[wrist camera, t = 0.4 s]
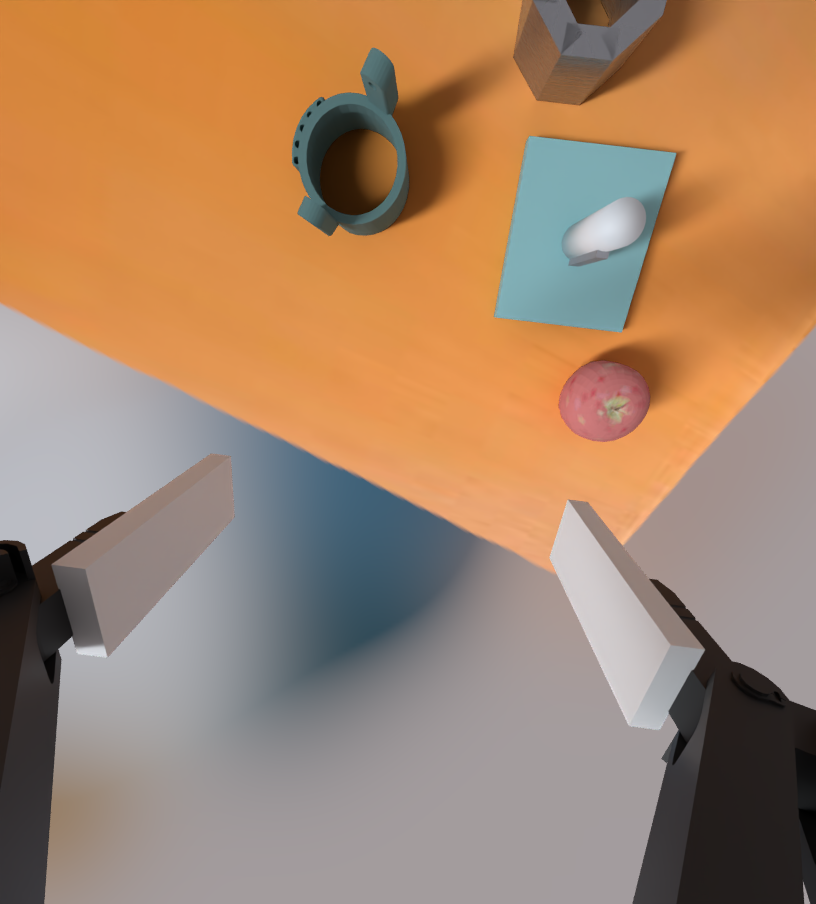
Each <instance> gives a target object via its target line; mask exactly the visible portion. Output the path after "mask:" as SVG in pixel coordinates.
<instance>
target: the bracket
mask: <svg viewBox="0 0 816 904" xmlns="http://www.w3.org/2000/svg"><path fill="white" fill-rule="evenodd" d="M360 74H361V77H362V81H363V84H364V87H365V91H366V94H367V96H366V95H362V94H359V93H342V94H338V95H335V96H332V97H330V98H328V99H327V100H325V99H324V98H323V97H320V98H319V99H317V100H316V101H315V102H314V103H313V104H312V105H311V106H310V107H309V108H308V109H307V110H306V112H305V113H304V115H303V116H302V118H301V120H300V122H299V124H298V126H297V129H296V132H295V136H294V140H293V148H292V163H293V165H294V166H295V167H296V169H297V170H298V171H299V172H300V175H301V179H302V182H303V185H304V187H305V189H306V192H307V193H308V195H309V197H310V198H311V199H310V198H308V197H307V196H305V197H304V199H303V202H302V204H301V206H300V208H299V210H298V215H300V216H301V217H303V218H304V219H305V220H307V221H308V222H310V223H311V224H313V225H314V226H315V227H317V228H318V229H320V230H321V231H323V232H324V233H325V234H327V235H328V236H331V235H332V234H333V232H334V231H335V229H336V228H337V226H338V225H339V226H341V227H342V228H344V229H345V230H347V231H348V232H349V233H352V234H356V235H365V236H366V235H373V234H376V233H379V232H381V231H383V230H385V229H387V228H388V227H389V226H390V225H391V224H393V223H394V222H395V220H396V219H397V218H398V217H399V215H400V214H401V212H402V210H403V208H404V206H405V203H406V200H407V196H408V191H409V173H408V165H407V159H406V152H405V146H404V141H403V138H402V135H401V132H400V130H399V127H398V125H397V123H396V122H395V120H394V119H393V117H392V114H393V112H394V109H395V106H396V104H397V101H398V91H397V84H396V77H395V70H394V66H393V64H392V62H391V61H390V60H389V58H388V57H387V56H386V55H385V54H384V53H382V52H381V51H380V50H378V49H376V48H372V49H371V50H370V52H369V54H368V57H367V59H366V61H365V63H364V66H363V68H362V70H361V72H360ZM356 129H367V130H372V131H375V132H377V133H379V134H381V135H382V136H384V137H385V138H386V139H388V140H389V141H390V142H391V143H392V144H393V146H394V147H395V149H396V150H397V159H398V167H397V174H396V178H395V182H394V185H393V187H392V189H391V191H390V193H389V195H388V196H387V197H386V199H385V200H384V201H383V203H381V204H380V205H379V206H378V207H377V208H375V209H374V210H372V211H370V212H368V213H365V214H361V215H347V214H343V213H340V212H337V211H335V210H334V209H332V208H331V207H329V206H328V205H327V204H326V203H325V201H324V199H323V196H322V191H321V186H320V172H321V166H322V162H323V159H324V156H325V154H326V152H327V150H328V149H329V147H330V146H331V144H332V143H333V142H334V141H335V140H336V139H337V138H338V137H339V136H341V135H343V134H344V133H346V132H349V131H351V130H356Z"/></svg>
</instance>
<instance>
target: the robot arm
mask: <svg viewBox="0 0 816 904" xmlns="http://www.w3.org/2000/svg"><path fill="white" fill-rule="evenodd" d="M234 517H235V516H234V500H233V485H232V469H231V456H225V455H218V454H210V455H208V456H207V457H206V458H204V459H203V460H201V461H200V462H198V463H197V464H196V465H194V466H193V467H191V468H190V469H188V470H187V471H185V472H184V473H182V474H181V475H180V476H178V477H177V478H175V479H174V480H172V481H171V482H169V483H168V484H167V485H165V486H164V487H162V488H161V489H159V490H158V491H157V492H155V493H154V494H153V495H151V496H149V497H148V498H146V499H145V500H144V501H142V502H141V503H139V504H138V505H136V506H135V507H134V508H132V509H131V510H129V511H128V512H119V513H117V514H114V515H112V516H109V517H107V518H104V519H102V520H100V521H99V522H97V523H96V524H94V525H93V526H91V527H90V528H88V529H87V530H86V532H82V533H81V534H79V535H78V536H76V537H75V538H73V541H69V542H67V543H66V544H64V545H63V546H61V547H60V548H58V549H57V550H55V551H54V552H52V553H51V554H49V555H48V556H46V557H45V558H43V559H42V560H40V561H38V562H37V563H35V564H34V565H31V562H30V559H29V555H28V552H27V549H26V546H25V544H23V543H21V542H19V541H8V540H3V541H0V904H44V899H45V898H44V897H45V885H46V870H47V856H48V842H49V828H50V814H51V799H52V785H53V771H54V770H53V769H54V756H55V742H56V727H57V714H58V700H59V686H60V671H61V657H60V654H59V650H58V649H59V648H60V647H61V646H62V645H63V644H64V643H65V642H66V641H67V640H69V639H70V638H71V637H73V641H74V644H75V647H76V651H77V654H83V655H92V656H99V657H106V658H107V657H109V656H110V654H111V653H112V652H113V651H114V650H115V649H116V648H117V647H118V646H119V644H120V643H121V642H122V641H123V640H124V639H125V638H126V637H127V636H128V634H129V633H130V632H131V631H132V630H133V629H134V628H135V627H136V625H138V623H139V622H140V621H141V620H142V619H143V618H144V617H145V615H146V614H147V613H148V612H149V611H150V610H151V609H152V608H153V607H154V606H155V605H156V603H157V602H158V601H159V600H160V599H161V598H162V597H163V596H164V595H165V593H166V592H167V591H168V590H169V589H170V588H171V587H172V585H174V584H175V583H176V581H177V580H178V579H179V578H180V577H181V576H182V575H183V574H184V573H185V571H186V570H187V569H188V568H189V567H190V566H191V565H192V564H193V563H194V562H195V560H196V559H197V558H198V557H199V556H200V555H201V554H202V553H203V552H204V550H205V549H206V548H207V547H208V546H209V545H210V544H211V543H212V542H213V541H214V539H215V538H216V537H217V536H218V535H219V534H220V533H221V532H222V530H223V529H224V528H225V527H226V526H227V525H228V524H229V523H230V522H231V521H232V519H233V518H234ZM550 560H551V562H552V564H553V566H554V569H555V571H556V573H557V575H558V577H559V579H560V581H561V583H562V585H563V587H564V590H565V591H566V594H567V596H568V598H569V600H570V602H571V604H572V606H573V609H574V611H575V613H576V615H577V617H578V619H579V621H580V624H581V625H582V628H583V630H584V632H585V634H586V636H587V638H588V640H589V643H590V645H591V646H592V649H593V651H594V653H595V655H596V657H597V659H598V662H599V664H600V666H601V667H602V670H603V672H604V674H605V676H606V678H607V680H608V683H609V685H610V687H611V689H612V691H613V693H614V695H615V697H616V700H617V702H618V704H619V706H620V708H621V710H622V712H623V714H624V716H625V719H626V721H627V723H628V725H629V726H633V727H640V728H648V729H656V730H660V728H661V727H662V725H663V723H664V721H665V720H666V718H667V716H668V714H670V715H671V717H672V719H673V721H674V722H675V724H676V726H677V728H678V729H679V730H678V732H677V734H676V735H675V737H674V739H673V740H672V742H671V744H670V745H669V747H668V749H667V750H666V752H665V754H664V755H663V757H662V760H664V761H665V762H666V763H667V766H666V770H665V774H664V778H663V783H662V787H661V790H660V794H659V799H658V803H657V807H656V811H655V815H654V819H653V823H652V827H651V831H650V835H649V839H648V843H647V847H646V851H645V855H644V859H643V863H642V867H641V871H640V876H639V880H638V884H637V888H636V892H635V896H634V900H633V904H804V893H803V882H804V885H805V888H806V891H807V894H808V898H809V901H810V904H816V710H813V709H810V708H808V707H805V706H803V705H800V704H797V703H794V702H792V701H789V699H788V698H787V697H786V696H785V694H784V693H783V692H782V691H781V689H780V688H779V687H777V686H776V685H775V684H774V683H773V682H772V681H770V680H769V679H768V678H767V677H765V676H764V675H762V674H760V673H759V672H757V671H756V670H754V669H752V668H750V667H747V666H745V665H743V664H741V663H737V662H732V661H731V660H730V659H729V657H728V656H727V655H726V654H725V653H724V651H723V650H722V649H721V648H720V647H719V645H718V644H717V643H716V642H715V641H714V639H713V638H712V637H711V636H710V635H709V634H708V632H707V631H706V630H705V629H704V628H703V627H702V625H701V624H700V623H699V622H698V621H696V620H695V617H694V616H693V615H692V613H691V612H690V611H689V610H688V609H686V608H685V605H684V604H683V603H682V602H681V601H680V599H679V598H678V597H677V596H676V594H675V593H674V592H672V591H671V590H670V589H669V588H667V587H666V586H665V585H663V584H662V583H660V582H659V581H658V580H654V579H648V577H647V576H646V575H645V574H644V572H643V571H642V570H641V569H640V567H639V566H638V565H637V564H636V562H635V561H634V560H633V558H632V557H631V556H630V555H629V553H628V552H627V551H626V550H625V548H624V547H623V546H622V545H621V543H620V542H619V541H618V540H617V538H616V537H615V536H614V535H613V533H612V532H611V531H610V530H609V528H608V527H607V526H606V525H605V523H604V522H603V521H602V520H601V518H600V517H599V516H598V515H597V513H596V512H595V511H594V510H593V508H592V507H591V506H590V504H589V503H588V502H583V501H575V500H568V501H567V504H566V507H565V510H564V513H563V517H562V520H561V523H560V526H559V529H558V532H557V536H556V539H555V542H554V545H553V548H552V551H551V555H550Z"/></svg>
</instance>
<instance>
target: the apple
mask: <svg viewBox="0 0 816 904" xmlns="http://www.w3.org/2000/svg"><path fill="white" fill-rule="evenodd" d="M649 403H650V393H649V387H648V385H647V383H646V381H645V379H644V378H643V377H642V376H641V375H640V374H639V373H638V372H637V371H636V370H634V369H632V368H630V367H628V366H626V365H622V364H619V363H616V362H610V361H604V360H603V361H593V362H590V363H588V364H586V365H584V366H582V367H581V368H579V369H578V370H577V371H576V372H574V373H573V375H572V376H571V377H570V378H569V379H568V381H567V382H566V384H565V385H564V387H563V389H562V392H561V394H560V399H559V409H560V413H561V417H562V419H563V420H564V422H565V423H566V425H567V426H568V427H569V428H570V429H571V430H572V431H573V432H574V433H575V434H577V435H579V436H581V437H583V438H586V439H589V440H592V441H601V442H606V441H613V440H617V439H619V438H621V437H624V436H626V435H627V434H629V433H630V432H632V431H633V430H634V429H635V428H636V427H637V426H638V425H639V424H640V423H641V422H642V420H643V419H644V417H645V416H646V414H647V411H648V408H649Z"/></svg>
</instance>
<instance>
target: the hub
mask: <svg viewBox="0 0 816 904" xmlns="http://www.w3.org/2000/svg"><path fill="white" fill-rule="evenodd" d="M666 1H667V0H601V2H602V5H603V7H604V9H605V11H606V13H607V15H608V17H609V19H610V20H609V24H608V27H603V26H595V25H586V24H577V22H576V20H575V18H574V16H573V14H572V12H571V10H570V8H569V6H568V3H567V1H566V0H523V1H522V7H521V13H520V19H519V25H518V32H517V38H516V44H515V50H514V56H513V58H514V60H515V61H516V63H517V65H518V67H519V69H520V71H521V72H522V74H523V76H524V78H525V80H526V81H527V83H528V85H529V87H530V89H531V91H532V92H533V94H534V96H535V98H536V100H539V101H547V102H556V103H565V104H573V105H580V104H581V103H582V102H583V101H584V100H586V99H587V98H588V97H589V96H590V95H591V94H592V93H593V92H594V91H596V90H597V89H598V88H599V87H600V86H601V85H602V84H603V83H604V82H606V81H607V80H608V79H609V78H610V77H611V76H612V75H613V74H614V73H616V72H617V71H618V70H619V69H620V68H621V66H622V65H623V64H624V63H625V61H626V60H627V59H628V58H629V56H630V55H631V54H632V53H633V51H634V50H635V49H636V48H637V46H638V45H639V44H640V43H641V42H642V40H643V39H644V38H645V37H646V35H647V34H648V33H649V32H650V30H651V29H652V28H653V27H654V25H655V24H656V23H657V22H658V20H659V19H660V18H661V17H662V15H663V12H664V9H665V5H666Z"/></svg>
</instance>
